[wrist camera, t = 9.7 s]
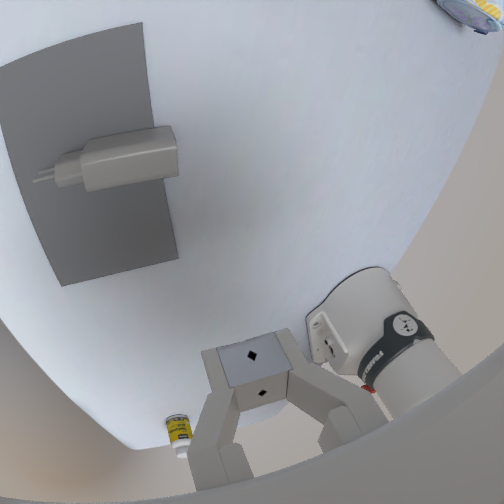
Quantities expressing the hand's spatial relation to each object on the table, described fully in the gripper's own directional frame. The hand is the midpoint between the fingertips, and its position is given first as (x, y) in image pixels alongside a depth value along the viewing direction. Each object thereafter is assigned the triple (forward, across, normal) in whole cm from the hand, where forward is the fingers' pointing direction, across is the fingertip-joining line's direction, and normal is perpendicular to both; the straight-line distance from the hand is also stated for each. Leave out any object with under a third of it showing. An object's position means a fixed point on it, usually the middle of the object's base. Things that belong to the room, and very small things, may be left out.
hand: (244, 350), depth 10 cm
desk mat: (+22, -8, +1) cm, 23 cm away
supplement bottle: (+24, -10, -50) cm, 56 cm away
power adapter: (+19, 0, +2) cm, 19 cm away
